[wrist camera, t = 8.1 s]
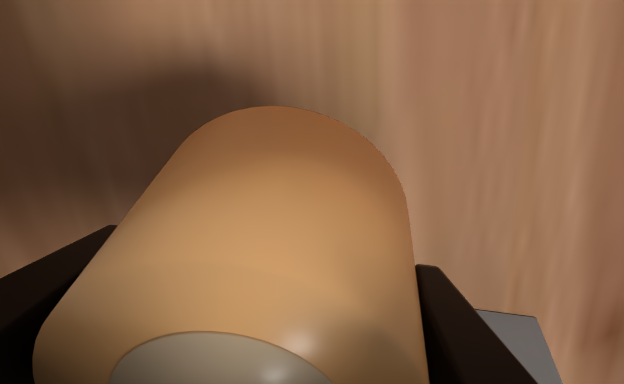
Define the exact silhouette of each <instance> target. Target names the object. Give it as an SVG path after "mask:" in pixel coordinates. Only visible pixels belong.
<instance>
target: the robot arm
mask: <svg viewBox="0 0 624 384" xmlns="http://www.w3.org/2000/svg"><path fill="white" fill-rule="evenodd" d="M116 228H117V225H108V226H106V227H104V228H102V229H100V230H98V231H96V232H94V233H92V234H90V235H88V236H86V237H84V238H82V239H80V240H78V241H76V242H73V243H71V244H69V245H67V246H65V247H63V248H61V249H59V250H57V251H55V252H53V253H51V254H49V255H47V256H45V257H43V258H41V259H39V260H37V261H35V262H33V263H31V264H29V265H27V266H25V267H23V268H21V269H19V270H17V271H15V272H12V273H10V274H8V275H6V276H4V277H2V278H0V384H35V381H34V377H33V363H32V357H33V351H34V346H35V341H36V338H37V336H38V334H39V331H40V329H41V326H42V324H43V323H44V322H45V320H46V319H47V317H48V316H49V315H50V313H51V312H52V310H53V309H54V308H55V306H56V305H57V304H58V303H59V301H60V300H61V299H62V297H63V296H64V295H65V293H66V292H67V291H68V290H69V288H70V287H71V286H72V284H73V283H74V282H75V281H76V279H77V278H78V277H79V275H80V274H81V273H82V272H83V270H84V269H85V268H86V266H87V265H88V264H89V262H90V261H91V260H92V259H93V257H94V256H95V255H96V253H97V252H98V251H99V250H100V248H101V247H102V246H103V244H104V243H105V242H106V241H107V239H108V238H109V237H110V235H111V234H112V233H113V231H114V230H115V229H116ZM415 270H416V278H417V286H418V294H419V302H420V310H421V318H422V326H423V334H424V342H425V350H426V358H427V366H428V374H429V382H430V384H538V383H537V381H536V380H535V379H534V378H533V377H532V376H531V374H530V373H529V372H528V371H527V370H526V369H525V367H524V366H523V365H522V364H521V363H520V362H519V360H518V359H517V358H516V357H515V356H514V355H513V353H512V352H511V351H510V350H509V349H508V348H507V346H506V345H505V344H504V343H503V342H502V341H501V339H500V338H499V337H498V336H497V335H496V334H495V332H494V331H493V330H492V329H491V328H490V327H489V325H488V324H487V323H486V322H485V321H484V320H483V318H482V317H481V316H480V315H479V314H478V313H477V311H476V310H475V309H474V308H473V307H472V306H471V304H470V303H469V302H468V301H467V300H466V299H465V297H464V296H463V295H462V294H461V293H460V292H459V290H458V289H457V288H456V287H455V286H454V285H453V283H452V282H451V281H450V280H449V279H448V278H447V276H446V275H445V274H444V273H443V272H442V271H441V269H439V268H438V267H436V266H430V265H422V264H417V265H416V266H415Z"/></svg>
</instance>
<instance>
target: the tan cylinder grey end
mask: <svg viewBox="0 0 624 384" xmlns="http://www.w3.org/2000/svg"><path fill="white" fill-rule="evenodd" d="M32 363H33V377H34V381H35V384H430V382H429V374H428V366H427V358H426V350H425V342H424V334H423V326H422V318H421V310H420V302H419V294H418V286H417V278H416V270H415V262H414V254H413V246H412V238H411V230H410V223H409V215H408V208H407V203H406V197H405V194H404V192H403V189H402V186H401V183H400V181H399V179H398V177H397V175H396V173H395V172H394V170H393V168H392V167H391V165H390V164H389V163H388V161H387V160H386V159H385V157H384V156H383V155H382V154H381V153H380V152H379V151H378V150H377V149H376V147H375V146H374V145H373V144H372V143H370V142H369V141H368V140H367V139H365V138H364V137H363V136H362V135H360V134H359V133H358V132H356V131H355V130H353V129H351V128H350V127H348V126H346V125H345V124H343V123H341V122H339V121H337V120H334V119H332V118H330V117H328V116H325V115H322V114H319V113H316V112H312V111H309V110H304V109H299V108H293V107H284V106H262V107H251V108H246V109H241V110H237V111H233V112H230V113H228V114H225V115H222V116H219V117H217V118H215V119H213V120H212V121H210V122H208V123H206V124H204V125H203V126H201V127H200V128H199V129H197V130H196V131H194V132H193V133H192V134H191V135H190V136H189V137H188V138H187V139H186V140H185V141H184V142H183V143H182V144H181V145H180V146H179V148H178V149H177V150H176V151H175V153H174V154H173V155H172V157H171V158H170V159H169V160H168V162H167V163H166V164H165V166H164V167H163V168H162V169H161V171H160V172H159V173H158V175H157V176H156V177H155V179H154V180H153V181H152V182H151V184H150V185H149V186H148V188H147V189H146V190H145V191H144V193H143V194H142V195H141V197H140V198H139V199H138V200H137V202H136V203H135V204H134V206H133V207H132V208H131V210H130V211H129V212H128V213H127V215H126V216H125V217H124V219H123V220H122V221H121V222H120V224H119V225H118V226H117V228H116V229H115V230H114V231H113V233H112V234H111V235H110V237H109V238H108V239H107V241H106V242H105V243H104V244H103V246H102V247H101V248H100V250H99V251H98V252H97V253H96V255H95V256H94V257H93V259H92V260H91V261H90V262H89V264H88V265H87V266H86V268H85V269H84V270H83V272H82V273H81V274H80V275H79V277H78V278H77V279H76V281H75V282H74V283H73V284H72V286H71V287H70V288H69V290H68V291H67V292H66V293H65V295H64V296H63V297H62V299H61V300H60V301H59V303H58V304H57V305H56V306H55V308H54V309H53V310H52V312H51V313H50V315H49V316H48V317H47V319H46V320H45V322H44V323H43V324H42V326H41V329H40V331H39V334H38V336H37V338H36V341H35V346H34V351H33V357H32Z"/></svg>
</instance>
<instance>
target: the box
mask: <svg viewBox="0 0 624 384" xmlns="http://www.w3.org/2000/svg"><path fill="white" fill-rule="evenodd" d="M476 311H477V313H478V314H479V315H480V316H481V317H482V318H483V320H484V321H485V322H486V323H487V324H488V325H489V327H490V328H491V329H492V330H493V331H494V332H495V334H496V335H497V336H498V337H499V338H500V339H501V341H502V342H503V343H504V344H505V345H506V346H507V348H508V349H509V350H510V351H511V352H512V353H513V355H514V356H515V357H516V358H517V359H518V360H519V362H520V363H521V364H522V365H523V366H524V367H525V369H526V370H527V371H528V372H529V373H530V374H531V376H532V377H533V378H534V379H535V380H536V381H537V383H538V384H563V383H562V380H561V378H560V375H559V373H558V371H557V368H556V366H555V363H554V361H553V358H552V356H551V353H550V351H549V348H548V346H547V343H546V341H545V338H544V336H543V333H542V331H541V328H540V326H539V323H538V321H537V318H535V317H527V316H519V315H512V314H504V313H497V312H489V311H481V310H476Z"/></svg>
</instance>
